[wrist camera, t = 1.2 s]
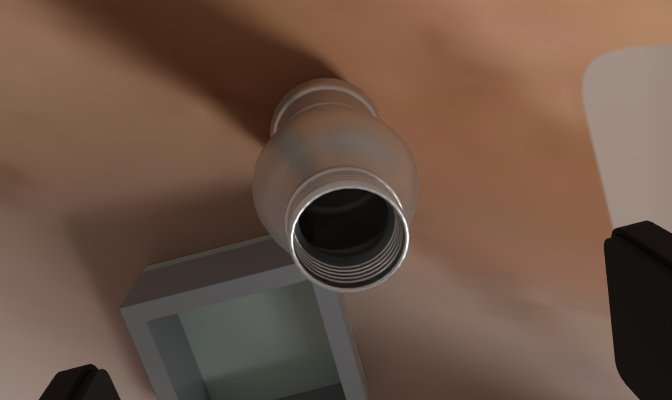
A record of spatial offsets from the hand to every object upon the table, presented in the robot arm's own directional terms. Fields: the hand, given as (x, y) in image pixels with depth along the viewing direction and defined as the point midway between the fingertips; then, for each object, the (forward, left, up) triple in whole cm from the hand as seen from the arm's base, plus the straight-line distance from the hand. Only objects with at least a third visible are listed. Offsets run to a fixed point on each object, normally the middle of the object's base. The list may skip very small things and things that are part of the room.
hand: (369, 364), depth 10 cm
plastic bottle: (0, 0, -27) cm, 27 cm away
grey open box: (-13, +8, -27) cm, 31 cm away
